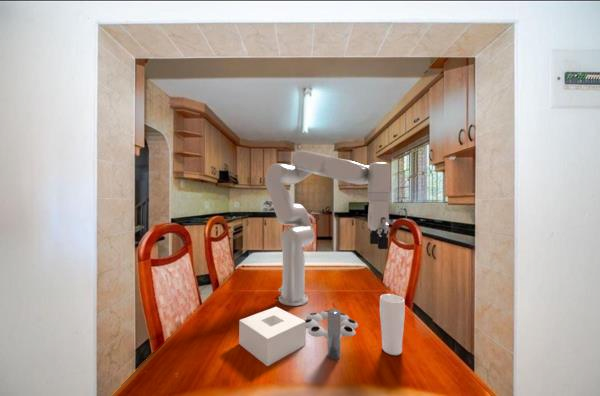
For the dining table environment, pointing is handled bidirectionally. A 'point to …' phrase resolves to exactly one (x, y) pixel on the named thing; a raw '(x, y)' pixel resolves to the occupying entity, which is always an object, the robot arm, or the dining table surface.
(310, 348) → the dining table surface
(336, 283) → the dining table surface
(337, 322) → the pin
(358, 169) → the robot arm
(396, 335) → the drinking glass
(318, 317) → the round palette
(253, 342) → the socket block
